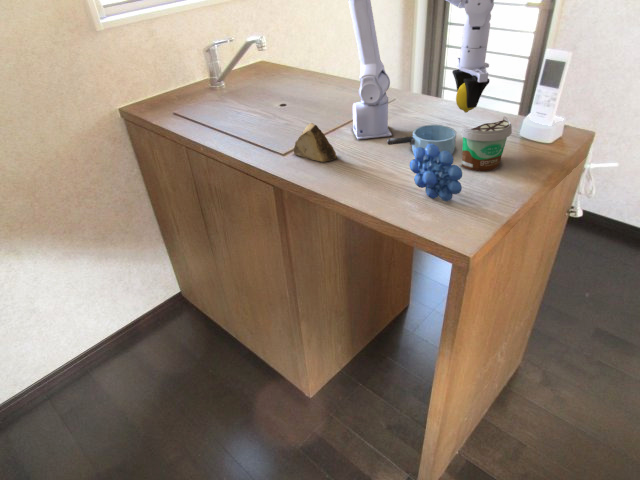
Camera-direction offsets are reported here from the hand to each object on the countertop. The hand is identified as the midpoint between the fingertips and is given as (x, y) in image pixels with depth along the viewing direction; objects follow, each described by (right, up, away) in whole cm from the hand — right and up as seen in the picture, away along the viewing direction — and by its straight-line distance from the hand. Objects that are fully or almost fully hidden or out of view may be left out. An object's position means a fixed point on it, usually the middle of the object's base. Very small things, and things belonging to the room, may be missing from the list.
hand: (466, 103), depth 112 cm
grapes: (-13, -26, -18) cm, 34 cm away
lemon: (0, -2, +2) cm, 3 cm away
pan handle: (-17, -10, 0) cm, 20 cm away
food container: (+2, -17, -8) cm, 19 cm away
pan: (-8, -11, +1) cm, 14 cm away
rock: (-38, -13, +3) cm, 40 cm away
